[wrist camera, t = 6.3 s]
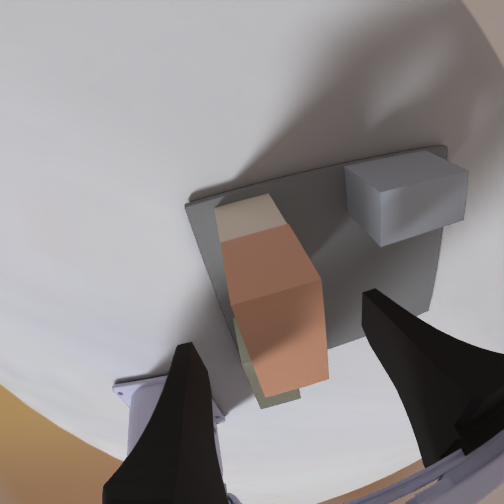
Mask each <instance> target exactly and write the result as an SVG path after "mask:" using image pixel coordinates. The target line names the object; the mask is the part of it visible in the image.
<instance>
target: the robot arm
mask: <svg viewBox="0 0 504 504" xmlns="http://www.w3.org/2000/svg"><path fill="white" fill-rule="evenodd" d="M361 326H362V328H363V331H364V333H365V335H366V337H367V339H368V342H369V344H370V346H371V347H372V349H373V351H374V352H375V354H376V356H377V357H378V359H379V361H380V362H381V364H382V366H383V367H384V369H385V370H386V372H387V374H388V375H389V377H390V379H391V380H392V382H393V384H394V386H395V388H396V389H397V391H398V394H399V396H400V398H401V400H402V403H403V405H404V407H405V410H406V412H407V415H408V418H409V420H410V423H411V425H412V428H413V431H414V434H415V437H416V440H417V443H418V446H419V450H420V453H421V457H422V460H423V464H424V466H425V469H423V470H421V471H420V472H417V473H416V474H413V475H412V476H409V477H407V478H405V479H403V480H401V481H399V482H397V483H395V484H392V485H390V486H388V487H385V488H383V489H381V490H378V491H376V492H373V493H371V494H368V495H366V496H363V497H360V498H358V499H355V500H352V501H349V502H347V503H344V504H388V503H390V502H392V501H394V500H397V499H399V498H401V497H403V496H405V495H408V494H410V493H412V492H414V491H416V490H418V489H420V488H422V487H424V486H426V485H427V484H429V483H431V482H433V481H435V480H437V479H438V478H439V479H438V481H437V482H436V483H435V484H433V485H431V486H430V487H428V488H426V489H425V490H423V491H421V492H419V493H418V494H416V495H415V496H414V497H413V498H411V499H410V500H408V501H407V502H405V504H476V503H478V502H479V501H480V500H482V499H483V498H484V497H486V496H487V495H488V494H490V493H491V492H492V491H493V490H495V489H496V488H497V487H499V486H500V485H501V484H502V483H503V482H504V354H501V353H497V352H493V351H489V350H486V349H482V348H479V347H476V346H473V345H471V344H468V343H466V342H463V341H461V340H458V339H456V338H454V337H452V336H450V335H448V334H446V333H444V332H441V331H440V330H438V329H436V328H434V327H432V326H431V325H429V324H427V323H426V322H424V321H422V320H421V319H419V318H418V317H416V316H415V315H413V314H412V313H410V312H409V311H407V310H406V309H404V308H403V307H401V306H400V305H398V304H397V303H396V302H394V301H393V300H391V299H390V298H389V297H387V296H386V295H384V294H383V293H382V292H380V291H379V290H377V289H376V288H374V289H371V290H368V291H365V292H362V320H361ZM112 390H113V391H114V393H115V394H116V395H117V396H118V397H119V398H120V399H121V400H122V401H123V402H124V403H125V404H126V405H127V406H128V407H129V408H130V412H129V428H128V452H127V458H126V459H125V461H124V462H123V463H122V465H121V466H120V467H119V469H118V470H117V471H116V472H115V473H114V474H113V476H112V477H111V478H110V479H109V480H108V481H107V482H106V483H105V485H104V487H103V494H102V502H103V503H102V504H242V503H241V502H240V501H239V499H238V498H237V497H236V496H235V495H233V494H231V493H227V489H226V484H225V483H223V479H222V476H223V467H222V460H221V453H220V446H219V439H218V432H217V424H220V423H224V422H225V417H224V415H223V414H222V412H221V411H220V409H219V408H218V406H217V405H216V403H215V402H214V400H213V399H212V394H211V387H210V382H209V376H208V371H207V369H206V367H205V365H204V364H203V362H202V360H201V358H200V356H199V355H198V353H197V351H196V349H195V347H194V345H193V343H192V342H189V343H185V344H181V345H178V346H177V347H176V350H175V354H174V357H173V360H172V364H171V367H170V370H169V373H168V375H166V376H161V377H156V378H150V379H145V380H139V381H133V382H127V383H121V384H115V385H113V387H112Z"/></svg>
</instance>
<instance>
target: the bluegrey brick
mask: <svg viewBox="0 0 504 504" xmlns="http://www.w3.org/2000/svg"><path fill="white" fill-rule="evenodd" d="M344 171H345V181H346V192H347V205H348V214H349V215H350V216H351V217H352V218H353V219H354V220H355V221H356V222H357V223H358V224H359V225H360V226H361V227H362V228H363V229H364V230H365V231H366V232H367V233H368V234H369V235H370V236H371V237H372V238H373V240H374V241H375V242H376V243H377V244H378V245H379V246H380V247H382V246H385V245H389V244H392V243H395V242H398V241H401V240H404V239H407V238H410V237H414V236H417V235H420V234H423V233H426V232H429V231H432V230H435V229H438V228H441V227H444V226H447V225H450V224H453V223H456V222H459V221H462V220H464V213H465V205H466V195H467V185H468V171H466V170H464V169H463V168H461V167H459V166H457V165H455V164H453V163H451V162H449V161H447V160H445V159H443V158H441V157H439V156H437V155H435V154H432V153H430V152H428V151H420V152H414V153H409V154H403V155H398V156H393V157H388V158H383V159H377V160H373V161H368V162H363V163H358V164H353V165H349V166H344Z"/></svg>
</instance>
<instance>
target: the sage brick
mask: <svg viewBox="0 0 504 504" xmlns="http://www.w3.org/2000/svg"><path fill="white" fill-rule="evenodd" d="M233 322H234V327H235V332H236V338H237V343H238V348H239V354H240V359H241V364H242V366H243V369H244V371H245V373H246V376H247V378H248V380H249V383H250V385H251V387H252V390H253V392H254V394H255V397H256V399H257V401H258V404H259V406H260V408H261V409H263V408H267V407H271V406H275V405H279V404H282V403H286V402H289V401H293V400H296V399H299V398H301V396H300V391H299V388H298V389H295V390H291V391H288V392H284V393H281V394H277V395H274V396H270V397H266V398H265V396H264V393H263V390H262V388H261V385H260V383H259V380H258V377H257V375H256V372H255V370H254V367H253V364H252V362H251V359H250V356H249V354H248V351H247V348H246V346H245V343H244V340H243V337H242V335H241V332H240V329H239V327H238V324H237V321H236V318H233Z"/></svg>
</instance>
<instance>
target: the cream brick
mask: <svg viewBox="0 0 504 504" xmlns="http://www.w3.org/2000/svg"><path fill="white" fill-rule="evenodd" d="M214 209H215V216H216V222H217V228H218V234H219V240H220V243H221V242H224V241H228V240H231V239H235V238H238V237H242V236H246V235H249V234H253V233H256V232H260V231H264V230H267V229H271V228H275V227H278V226H282V225H286V224H287V223H286V221H285V220H284V218H283V216H282V215H281V213H280V211H279V210H278V208H277V206H276V205H275V203H274V201H273V200H272V198H271V196H270V195H269V193H268V194H264V195H260V196H256V197H252V198H249V199H245V200H241V201H238V202H234V203H230V204H227V205H223V206H220V207H216V208H214Z"/></svg>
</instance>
